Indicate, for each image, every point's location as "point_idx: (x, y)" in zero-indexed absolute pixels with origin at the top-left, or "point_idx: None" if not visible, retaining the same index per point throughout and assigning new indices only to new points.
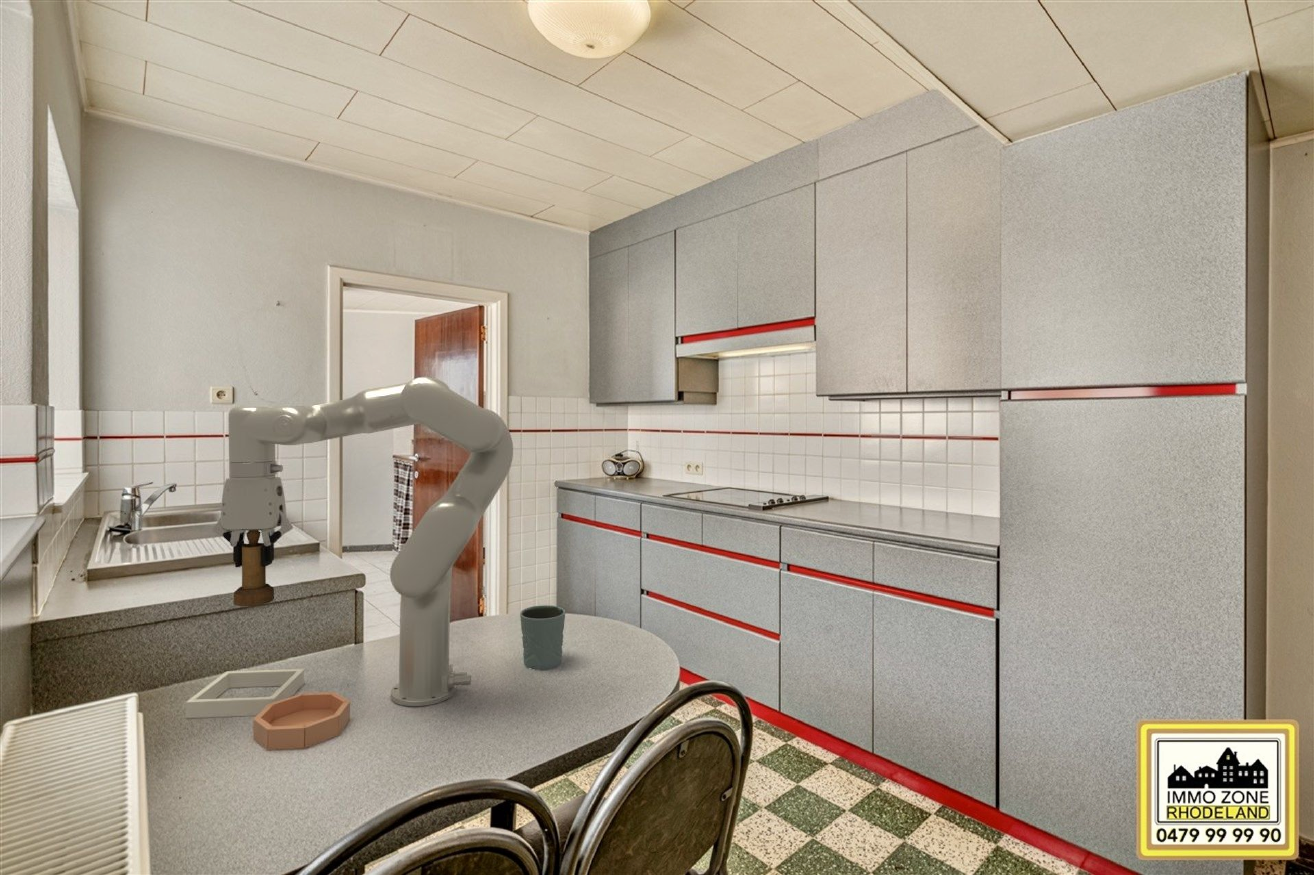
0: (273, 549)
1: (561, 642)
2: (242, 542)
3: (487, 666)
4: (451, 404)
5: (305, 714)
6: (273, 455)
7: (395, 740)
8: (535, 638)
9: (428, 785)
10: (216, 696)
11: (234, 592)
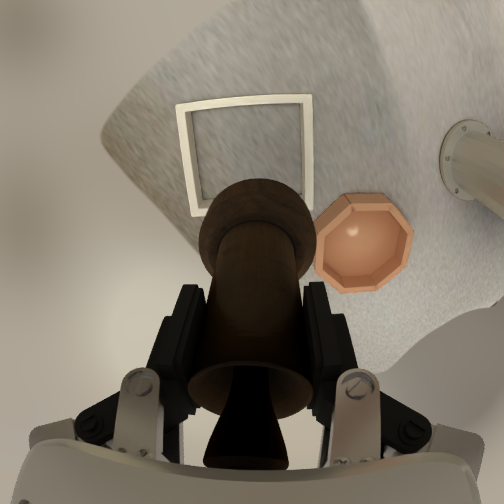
0: (352, 354)
1: None
2: (180, 404)
3: None
4: None
5: (356, 217)
6: None
7: (443, 264)
8: None
9: (453, 317)
10: (194, 146)
11: (210, 273)
